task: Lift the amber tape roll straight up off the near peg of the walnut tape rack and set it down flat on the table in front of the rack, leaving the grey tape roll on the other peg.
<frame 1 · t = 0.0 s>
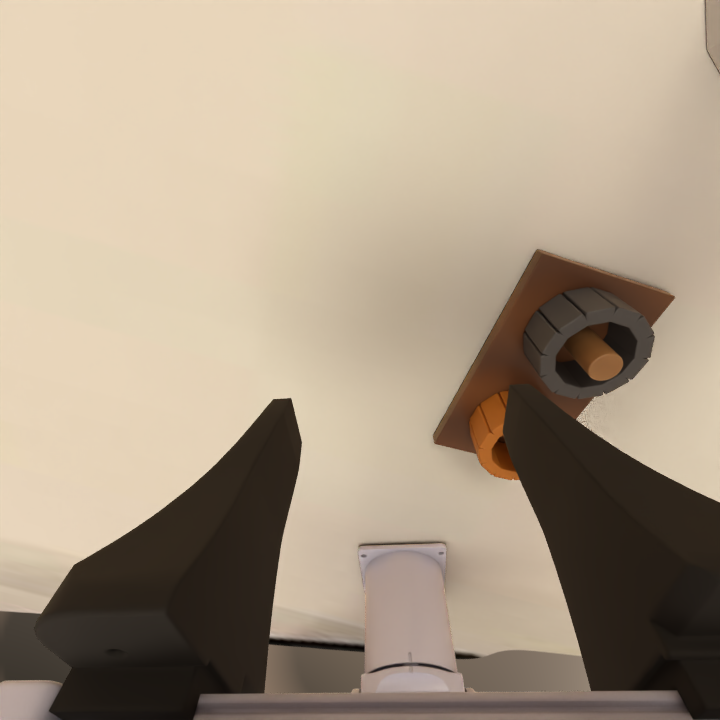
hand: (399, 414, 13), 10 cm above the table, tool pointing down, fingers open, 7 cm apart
rack: (534, 373, 24), on the table
grey tape: (572, 332, 21), point 1 cm above the table, touching rack
amber tape: (510, 421, 25), point 1 cm above the table, touching rack
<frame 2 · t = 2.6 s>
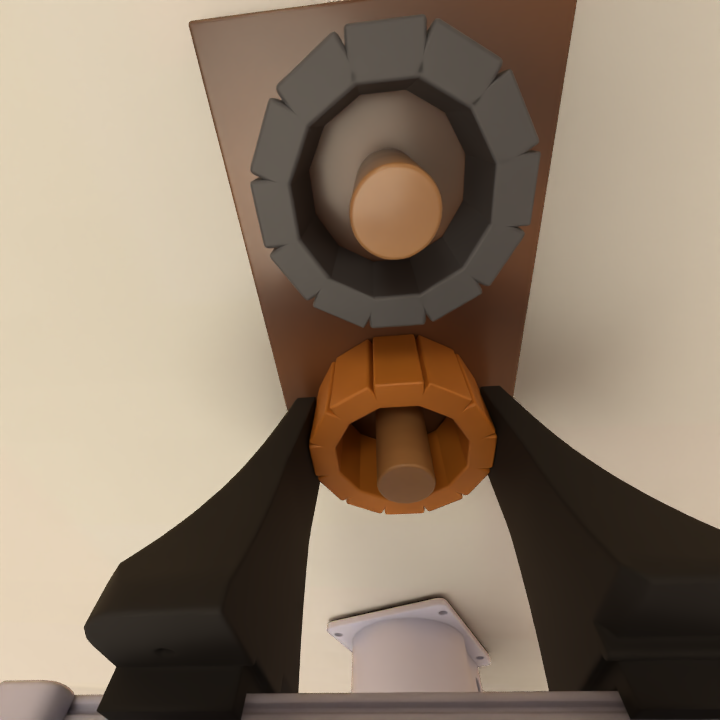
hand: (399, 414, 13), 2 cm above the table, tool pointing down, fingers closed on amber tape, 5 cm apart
rack: (392, 300, 12), on the table
grey tape: (387, 184, 9), point 1 cm above the table, touching rack
amber tape: (396, 401, 13), point 1 cm above the table, touching gripper, rack
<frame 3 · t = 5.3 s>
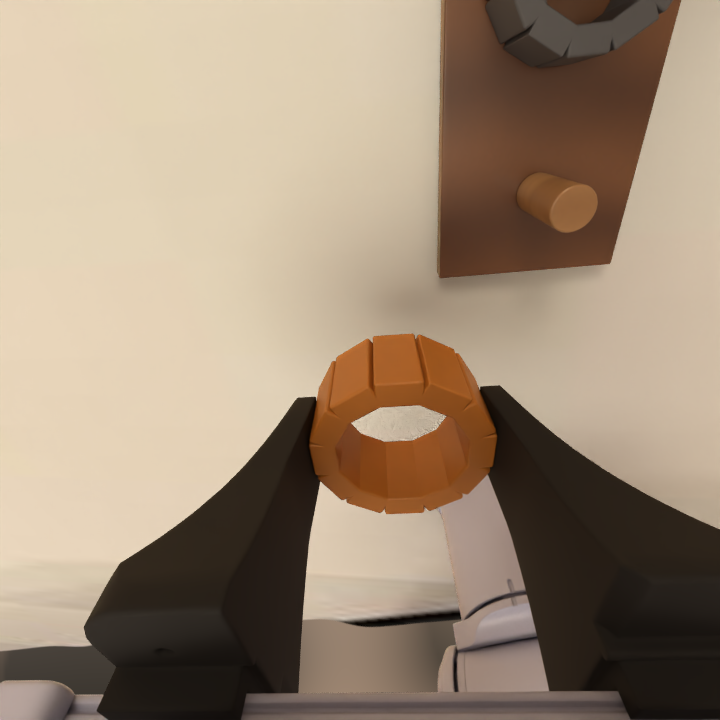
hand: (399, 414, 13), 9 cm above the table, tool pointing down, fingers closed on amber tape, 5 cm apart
rack: (541, 94, 15), on the table
amber tape: (396, 401, 13), point 8 cm above the table, touching gripper
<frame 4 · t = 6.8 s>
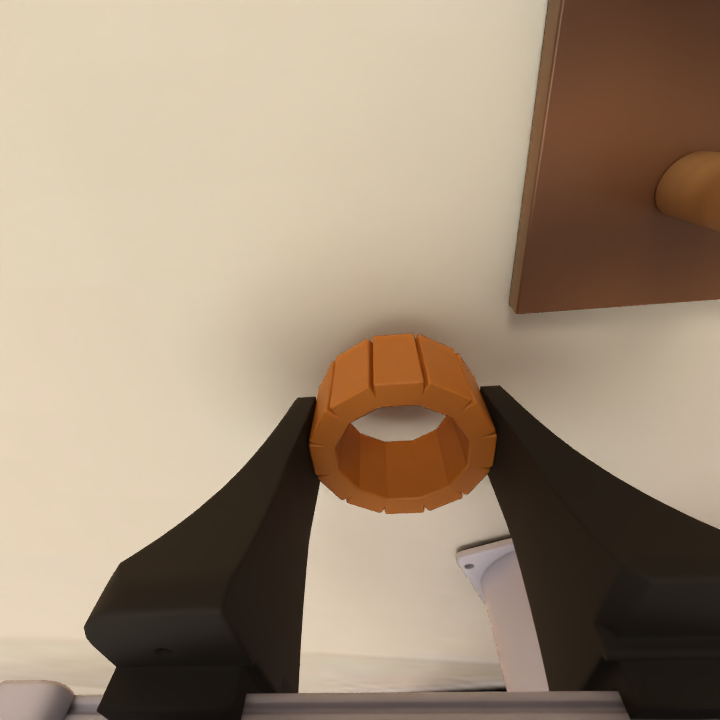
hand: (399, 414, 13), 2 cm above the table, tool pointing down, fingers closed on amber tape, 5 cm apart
rack: (718, 16, 9), on the table
amber tape: (396, 401, 13), point 2 cm above the table, touching gripper
when the fingers open (1 cm above the table, at t = 7.9 s): amber tape stays where it is, on the table.
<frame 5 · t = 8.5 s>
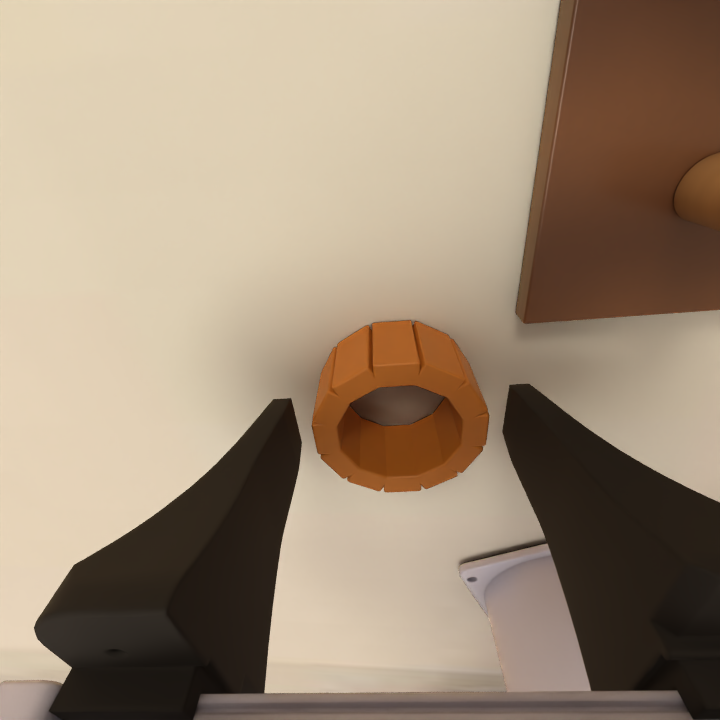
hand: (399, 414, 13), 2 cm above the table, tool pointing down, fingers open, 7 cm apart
amber tape: (395, 386, 14), on the table
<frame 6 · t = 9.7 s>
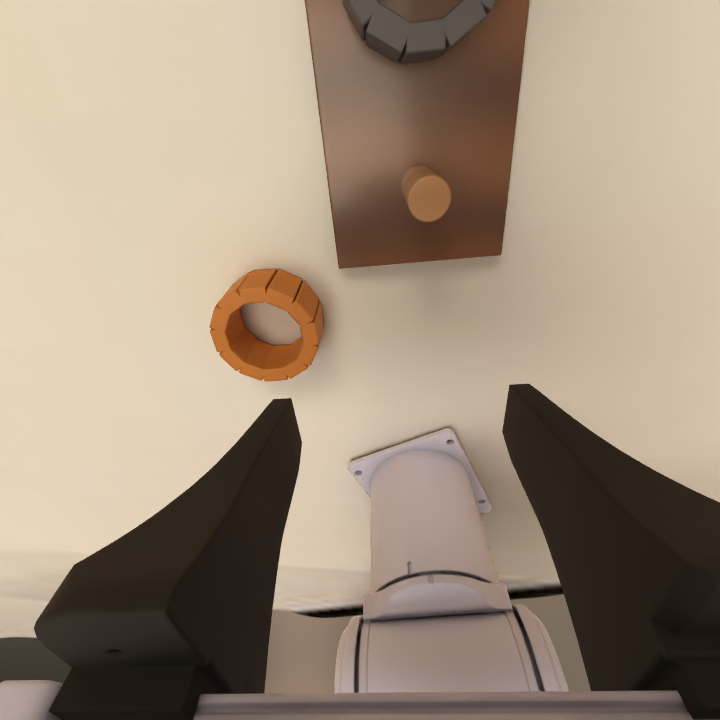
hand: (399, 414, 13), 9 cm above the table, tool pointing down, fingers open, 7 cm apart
rack: (415, 89, 15), on the table
amber tape: (275, 315, 21), on the table
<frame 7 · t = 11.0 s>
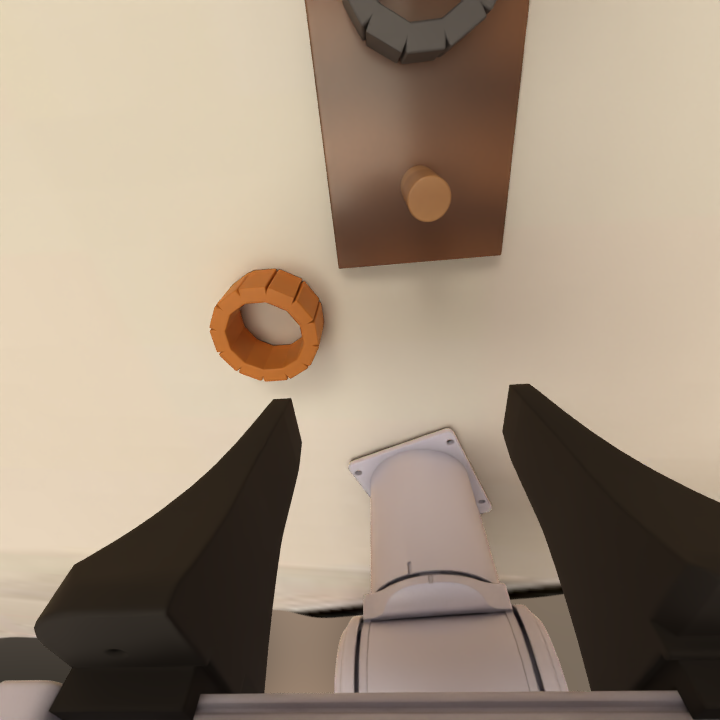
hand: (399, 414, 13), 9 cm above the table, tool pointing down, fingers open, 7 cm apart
rack: (415, 89, 15), on the table
amber tape: (275, 315, 21), on the table
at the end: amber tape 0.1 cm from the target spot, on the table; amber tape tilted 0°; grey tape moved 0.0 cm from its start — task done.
